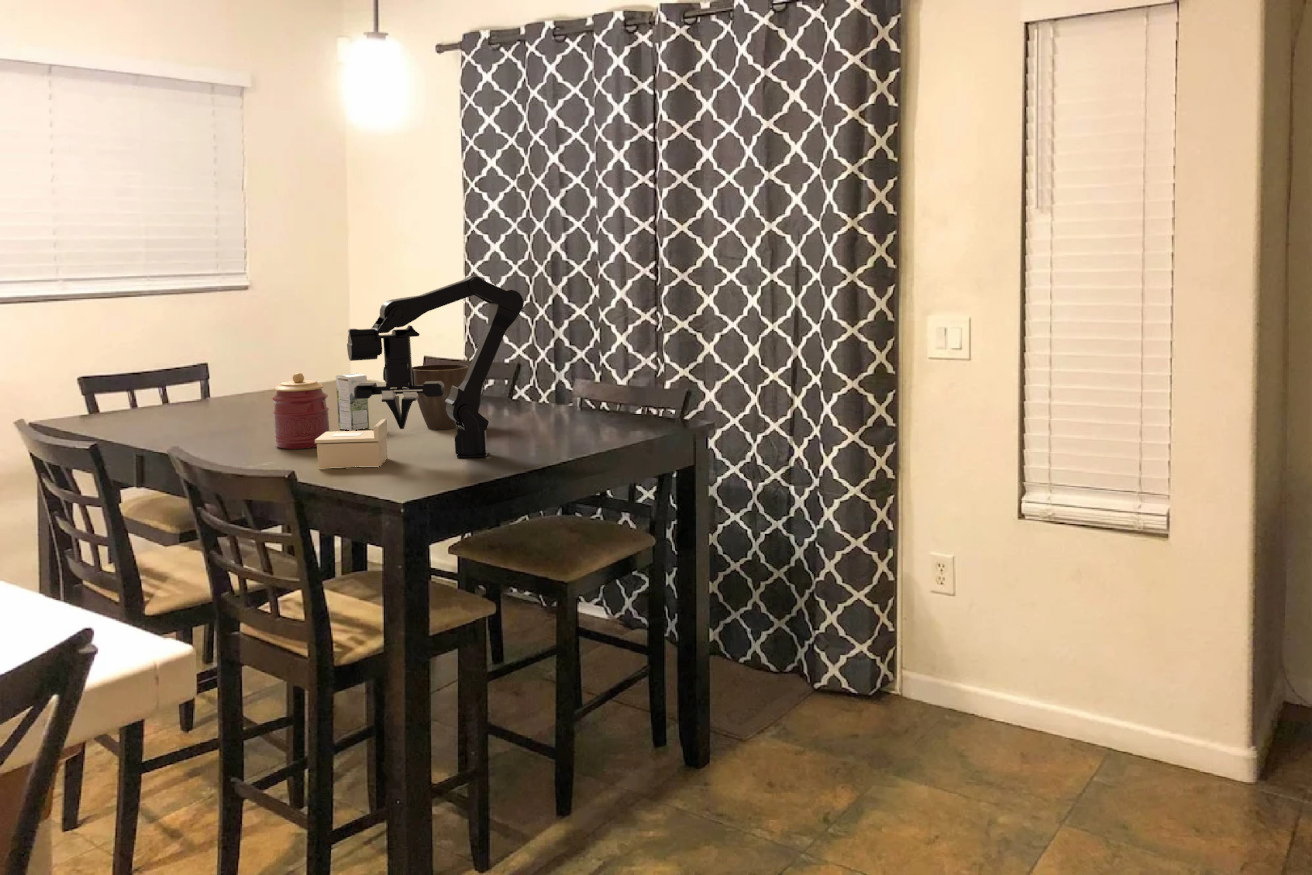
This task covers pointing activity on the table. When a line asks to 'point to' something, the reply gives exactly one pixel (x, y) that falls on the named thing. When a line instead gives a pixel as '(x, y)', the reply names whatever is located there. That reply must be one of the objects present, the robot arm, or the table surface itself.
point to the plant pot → (436, 406)
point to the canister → (299, 413)
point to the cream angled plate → (355, 435)
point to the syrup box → (351, 402)
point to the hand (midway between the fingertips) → (402, 428)
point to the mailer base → (352, 454)
